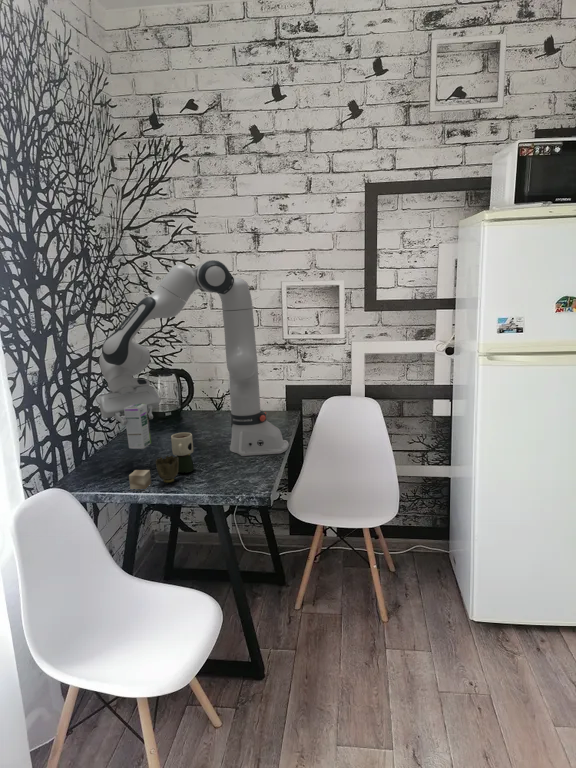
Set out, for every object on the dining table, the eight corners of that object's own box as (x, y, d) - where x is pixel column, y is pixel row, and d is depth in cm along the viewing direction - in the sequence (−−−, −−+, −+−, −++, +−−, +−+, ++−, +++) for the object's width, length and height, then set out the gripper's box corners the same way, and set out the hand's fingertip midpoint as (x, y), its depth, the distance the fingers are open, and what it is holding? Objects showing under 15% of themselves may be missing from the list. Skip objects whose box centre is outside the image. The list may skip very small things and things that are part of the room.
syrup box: (144, 449, 187) (139, 407, 184) (128, 448, 188) (123, 407, 185) (151, 443, 192) (147, 403, 190) (136, 443, 194) (131, 403, 191)
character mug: (193, 476, 186) (190, 439, 183) (172, 478, 186) (168, 440, 183) (197, 465, 196) (193, 430, 194) (176, 466, 196) (173, 431, 194)
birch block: (151, 484, 181) (149, 469, 180) (145, 490, 176) (143, 475, 175) (136, 484, 182) (135, 469, 181) (130, 490, 177) (128, 475, 176)
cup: (160, 488, 177) (158, 464, 175) (155, 481, 183) (152, 458, 182) (183, 483, 180) (181, 460, 178) (177, 476, 186) (174, 453, 185)
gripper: (95, 389, 186) (109, 422, 180) (152, 378, 197) (167, 409, 192) (92, 400, 190) (106, 433, 184) (149, 389, 202) (163, 420, 196)
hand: (137, 421), depth 188 cm, fingers closed on syrup box, 8 cm apart
